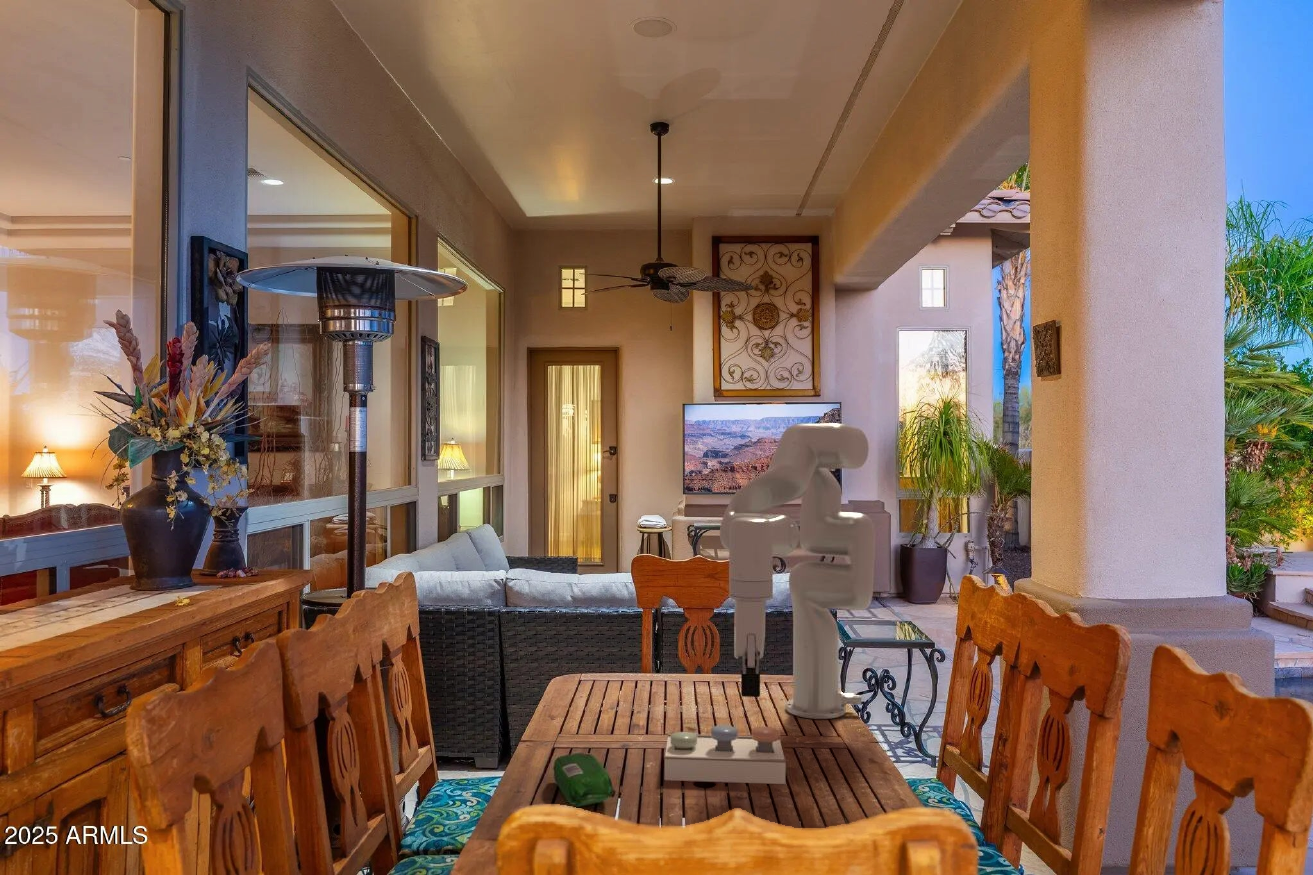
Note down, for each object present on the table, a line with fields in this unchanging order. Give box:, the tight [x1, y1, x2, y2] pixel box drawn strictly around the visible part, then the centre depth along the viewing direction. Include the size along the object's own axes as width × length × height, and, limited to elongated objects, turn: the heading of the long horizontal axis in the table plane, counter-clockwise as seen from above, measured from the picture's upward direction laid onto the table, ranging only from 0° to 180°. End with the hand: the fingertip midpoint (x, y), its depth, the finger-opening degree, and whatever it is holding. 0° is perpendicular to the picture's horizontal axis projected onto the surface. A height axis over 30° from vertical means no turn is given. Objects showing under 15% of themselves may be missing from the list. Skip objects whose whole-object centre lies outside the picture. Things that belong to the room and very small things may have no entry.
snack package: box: [553, 752, 617, 808], centre depth 134 cm, size 7×16×5 cm, turn 19°
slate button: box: [710, 725, 739, 752], centre depth 146 cm, size 5×5×4 cm
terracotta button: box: [751, 726, 779, 753], centre depth 146 cm, size 5×5×4 cm
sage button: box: [671, 731, 697, 750], centre depth 147 cm, size 5×5×4 cm
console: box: [664, 733, 787, 785], centre depth 146 cm, size 20×12×4 cm, turn 86°
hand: (750, 695), depth 146 cm, fingers closed
